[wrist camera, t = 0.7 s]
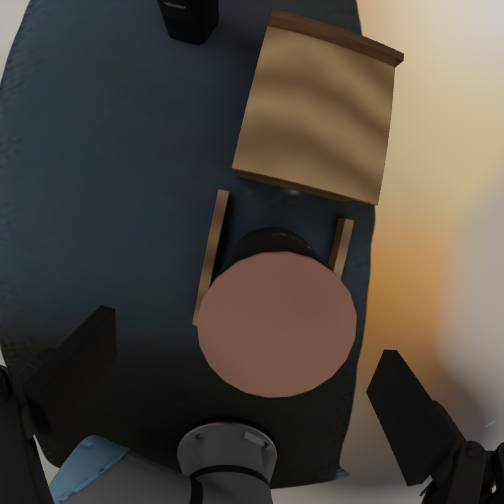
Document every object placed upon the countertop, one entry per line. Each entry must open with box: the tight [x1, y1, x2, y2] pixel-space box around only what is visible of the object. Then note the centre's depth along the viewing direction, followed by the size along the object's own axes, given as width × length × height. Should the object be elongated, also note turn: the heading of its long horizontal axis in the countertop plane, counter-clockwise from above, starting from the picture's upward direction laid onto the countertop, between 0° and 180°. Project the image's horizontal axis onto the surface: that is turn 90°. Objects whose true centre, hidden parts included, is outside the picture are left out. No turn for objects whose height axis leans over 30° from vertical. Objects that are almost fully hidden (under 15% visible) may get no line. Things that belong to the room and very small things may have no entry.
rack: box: [193, 9, 404, 326], centre depth 31 cm, size 34×16×12 cm, turn 168°
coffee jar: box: [197, 227, 357, 397], centre depth 28 cm, size 11×11×18 cm
